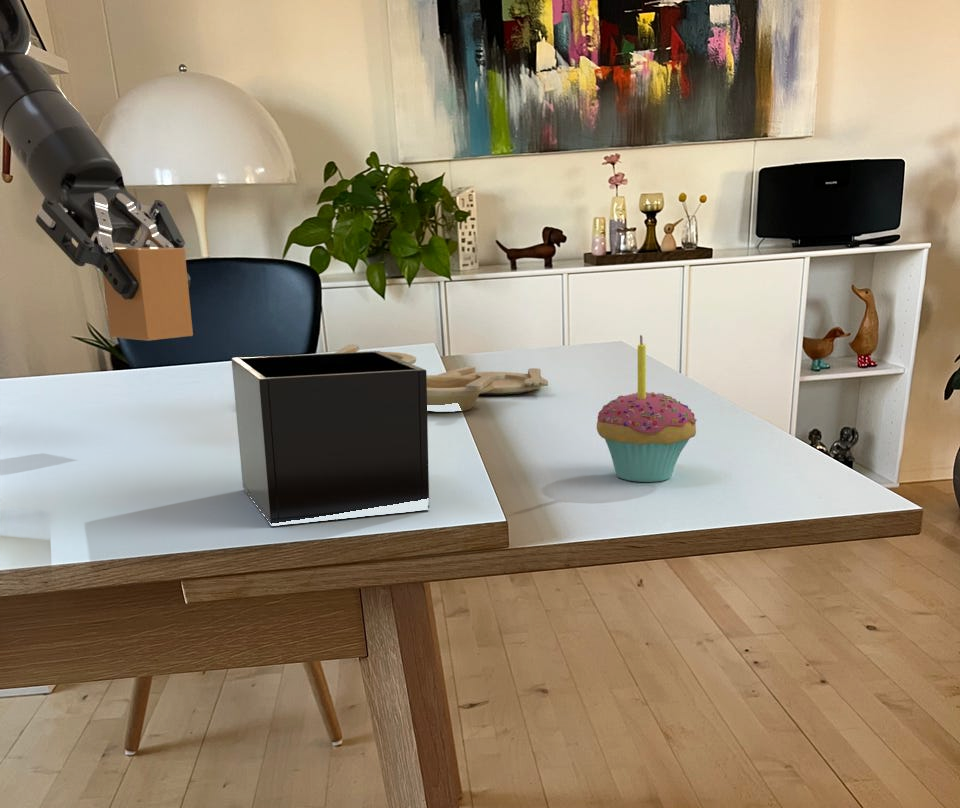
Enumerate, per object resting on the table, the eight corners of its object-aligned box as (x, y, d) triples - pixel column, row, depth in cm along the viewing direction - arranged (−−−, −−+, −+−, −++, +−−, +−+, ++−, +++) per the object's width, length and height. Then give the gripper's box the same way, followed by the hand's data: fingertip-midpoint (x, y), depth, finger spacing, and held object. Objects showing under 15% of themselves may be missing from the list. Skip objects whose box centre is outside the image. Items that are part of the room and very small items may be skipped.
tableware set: (221, 407, 123) (218, 371, 121) (326, 372, 149) (325, 343, 147) (509, 423, 113) (509, 385, 112) (567, 383, 139) (568, 352, 138)
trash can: (271, 527, 76) (259, 379, 72) (242, 489, 87) (231, 358, 82) (429, 511, 80) (426, 369, 76) (384, 476, 91) (379, 350, 87)
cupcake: (672, 492, 85) (682, 340, 81) (577, 480, 89) (582, 334, 85) (704, 471, 92) (716, 330, 88) (615, 460, 96) (621, 325, 91)
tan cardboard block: (147, 340, 98) (137, 249, 94) (110, 337, 100) (98, 248, 97) (193, 335, 102) (184, 248, 99) (156, 332, 105) (146, 247, 102)
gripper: (6, 118, 92) (110, 265, 91) (138, 129, 103) (233, 260, 102) (-18, 184, 97) (81, 325, 95) (111, 188, 108) (201, 314, 106)
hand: (159, 290), depth 99 cm, fingers closed on tan cardboard block, 5 cm apart
